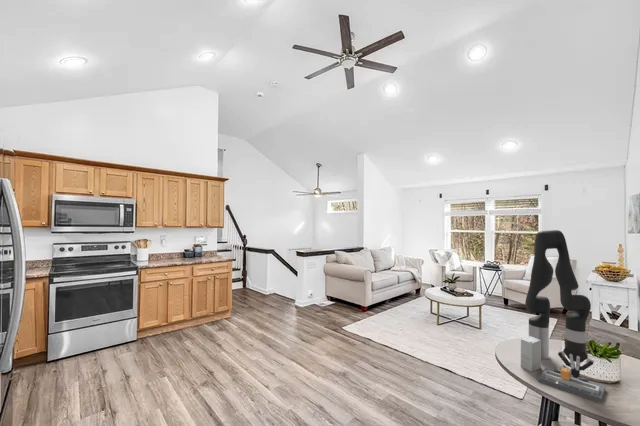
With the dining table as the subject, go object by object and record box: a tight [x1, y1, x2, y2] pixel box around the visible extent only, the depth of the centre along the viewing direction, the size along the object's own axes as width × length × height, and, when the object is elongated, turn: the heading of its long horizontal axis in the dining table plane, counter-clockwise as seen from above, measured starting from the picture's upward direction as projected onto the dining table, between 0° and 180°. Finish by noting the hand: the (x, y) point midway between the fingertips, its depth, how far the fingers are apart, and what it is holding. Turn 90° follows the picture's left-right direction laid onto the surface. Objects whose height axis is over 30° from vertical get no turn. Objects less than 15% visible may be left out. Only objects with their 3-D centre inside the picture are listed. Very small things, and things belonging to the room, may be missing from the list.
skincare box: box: [520, 335, 542, 373], centre depth 157 cm, size 8×6×15 cm
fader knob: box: [560, 366, 571, 381], centre depth 141 cm, size 4×3×6 cm
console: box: [537, 367, 606, 404], centre depth 141 cm, size 14×22×4 cm, turn 42°
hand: (575, 377), depth 138 cm, fingers closed
